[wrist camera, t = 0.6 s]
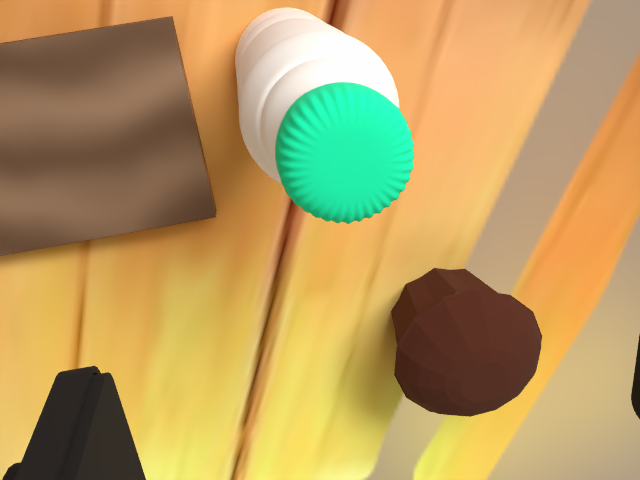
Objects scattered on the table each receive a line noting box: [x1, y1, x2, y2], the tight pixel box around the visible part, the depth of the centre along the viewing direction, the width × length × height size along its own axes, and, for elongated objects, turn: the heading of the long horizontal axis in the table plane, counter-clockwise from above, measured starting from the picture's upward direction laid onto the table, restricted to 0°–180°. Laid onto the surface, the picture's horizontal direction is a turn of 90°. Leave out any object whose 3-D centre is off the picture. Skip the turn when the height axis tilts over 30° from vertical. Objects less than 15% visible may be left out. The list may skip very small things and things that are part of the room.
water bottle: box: [235, 8, 414, 224], centre depth 31 cm, size 7×7×25 cm
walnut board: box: [0, 16, 216, 256], centre depth 42 cm, size 14×20×2 cm
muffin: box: [391, 268, 542, 416], centre depth 48 cm, size 12×11×10 cm
